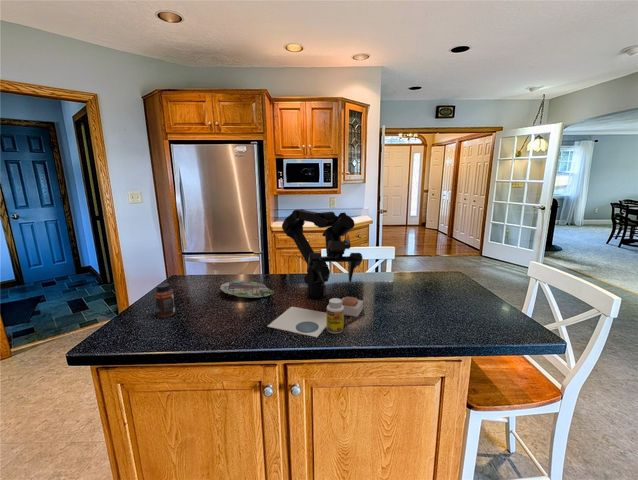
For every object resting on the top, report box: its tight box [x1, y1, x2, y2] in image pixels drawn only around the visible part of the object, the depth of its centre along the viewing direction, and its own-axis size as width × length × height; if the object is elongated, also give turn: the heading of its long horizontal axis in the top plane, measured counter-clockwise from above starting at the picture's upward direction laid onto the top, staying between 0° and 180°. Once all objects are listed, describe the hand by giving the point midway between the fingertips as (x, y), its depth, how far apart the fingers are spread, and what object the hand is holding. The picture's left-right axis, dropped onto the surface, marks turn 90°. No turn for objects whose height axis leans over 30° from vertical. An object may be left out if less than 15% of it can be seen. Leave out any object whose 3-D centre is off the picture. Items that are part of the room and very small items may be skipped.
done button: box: [343, 296, 358, 307], centre depth 111 cm, size 4×4×2 cm
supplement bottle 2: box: [325, 297, 345, 335], centre depth 96 cm, size 6×6×10 cm
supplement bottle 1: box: [154, 283, 176, 319], centre depth 108 cm, size 6×6×11 cm
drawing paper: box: [267, 306, 327, 338], centre depth 104 cm, size 18×17×1 cm
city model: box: [219, 280, 275, 299], centre depth 130 cm, size 25×23×6 cm
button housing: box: [340, 297, 364, 318], centre depth 111 cm, size 8×8×3 cm
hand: (337, 281), depth 103 cm, fingers open, 9 cm apart
